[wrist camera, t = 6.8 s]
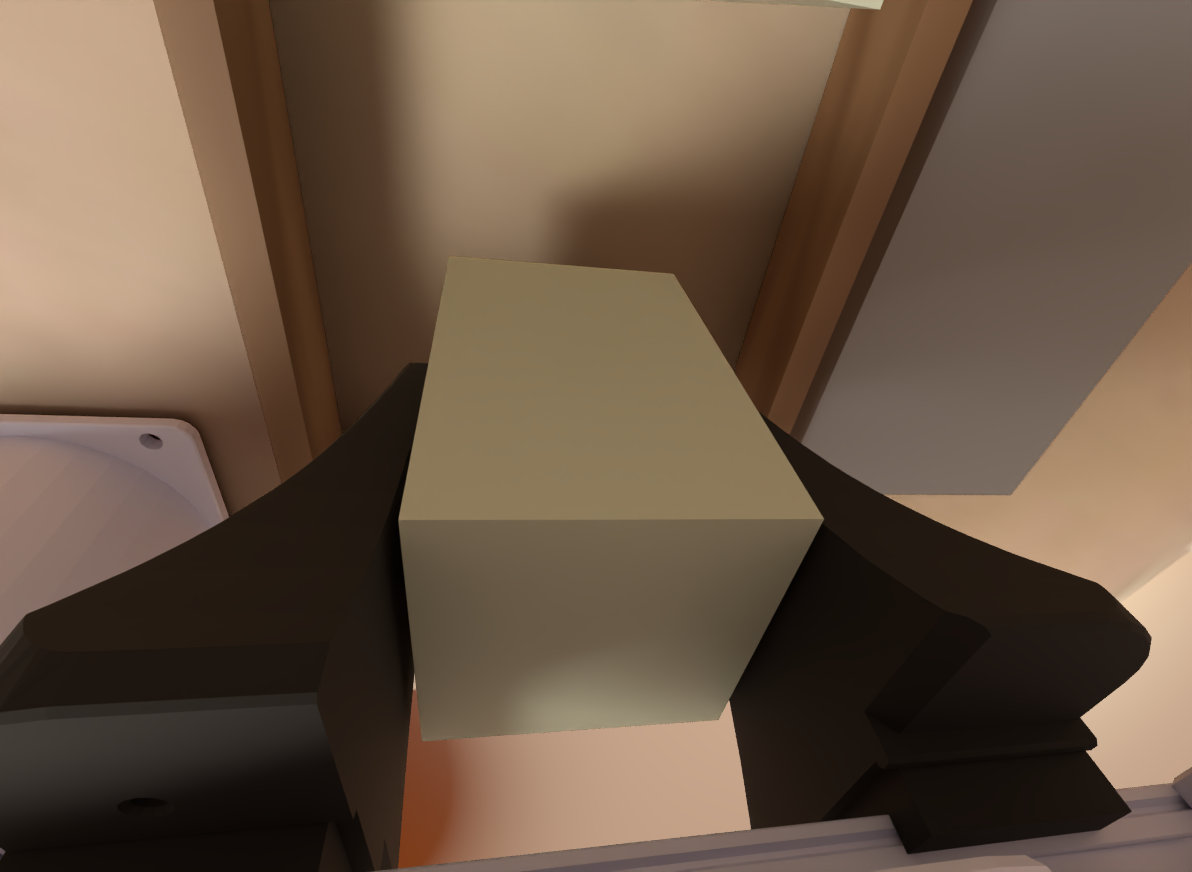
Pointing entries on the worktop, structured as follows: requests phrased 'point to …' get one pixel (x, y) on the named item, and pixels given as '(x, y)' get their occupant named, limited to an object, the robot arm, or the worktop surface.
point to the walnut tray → (282, 249)
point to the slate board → (1013, 246)
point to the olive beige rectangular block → (587, 507)
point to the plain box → (817, 3)
